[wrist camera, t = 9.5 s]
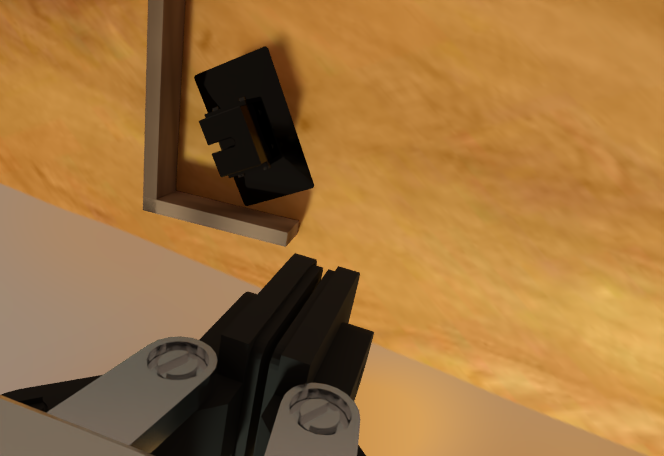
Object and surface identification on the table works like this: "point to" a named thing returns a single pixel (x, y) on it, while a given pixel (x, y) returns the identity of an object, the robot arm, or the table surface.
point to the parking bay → (163, 140)
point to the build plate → (252, 128)
